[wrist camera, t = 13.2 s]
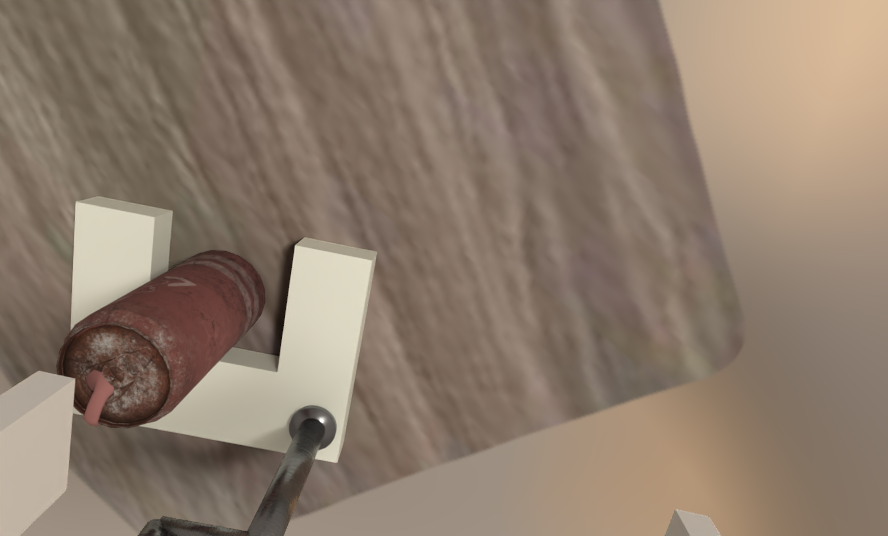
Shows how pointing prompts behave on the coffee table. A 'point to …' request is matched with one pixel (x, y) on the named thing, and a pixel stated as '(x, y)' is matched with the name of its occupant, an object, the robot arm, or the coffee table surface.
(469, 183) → the coffee table surface
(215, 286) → the can
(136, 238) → the u-shaped block
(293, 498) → the hook post
